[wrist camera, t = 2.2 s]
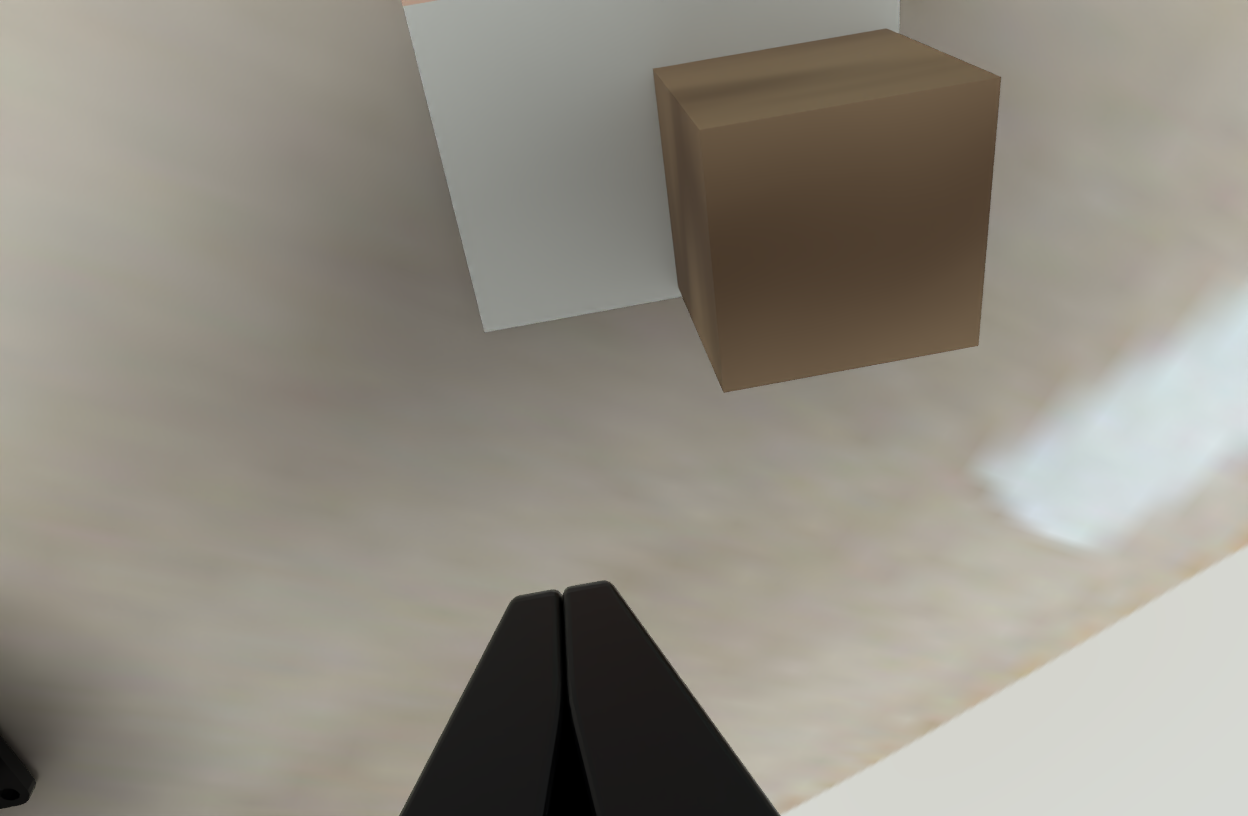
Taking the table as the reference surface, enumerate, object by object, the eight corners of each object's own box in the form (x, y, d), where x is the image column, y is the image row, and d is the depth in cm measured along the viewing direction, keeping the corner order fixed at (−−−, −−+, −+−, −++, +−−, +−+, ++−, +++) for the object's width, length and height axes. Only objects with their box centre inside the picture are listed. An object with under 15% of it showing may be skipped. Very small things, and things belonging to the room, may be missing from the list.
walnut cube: (882, 249, 19) (977, 345, 15) (678, 286, 19) (723, 392, 15) (886, 28, 17) (1001, 76, 13) (652, 68, 17) (699, 130, 13)
